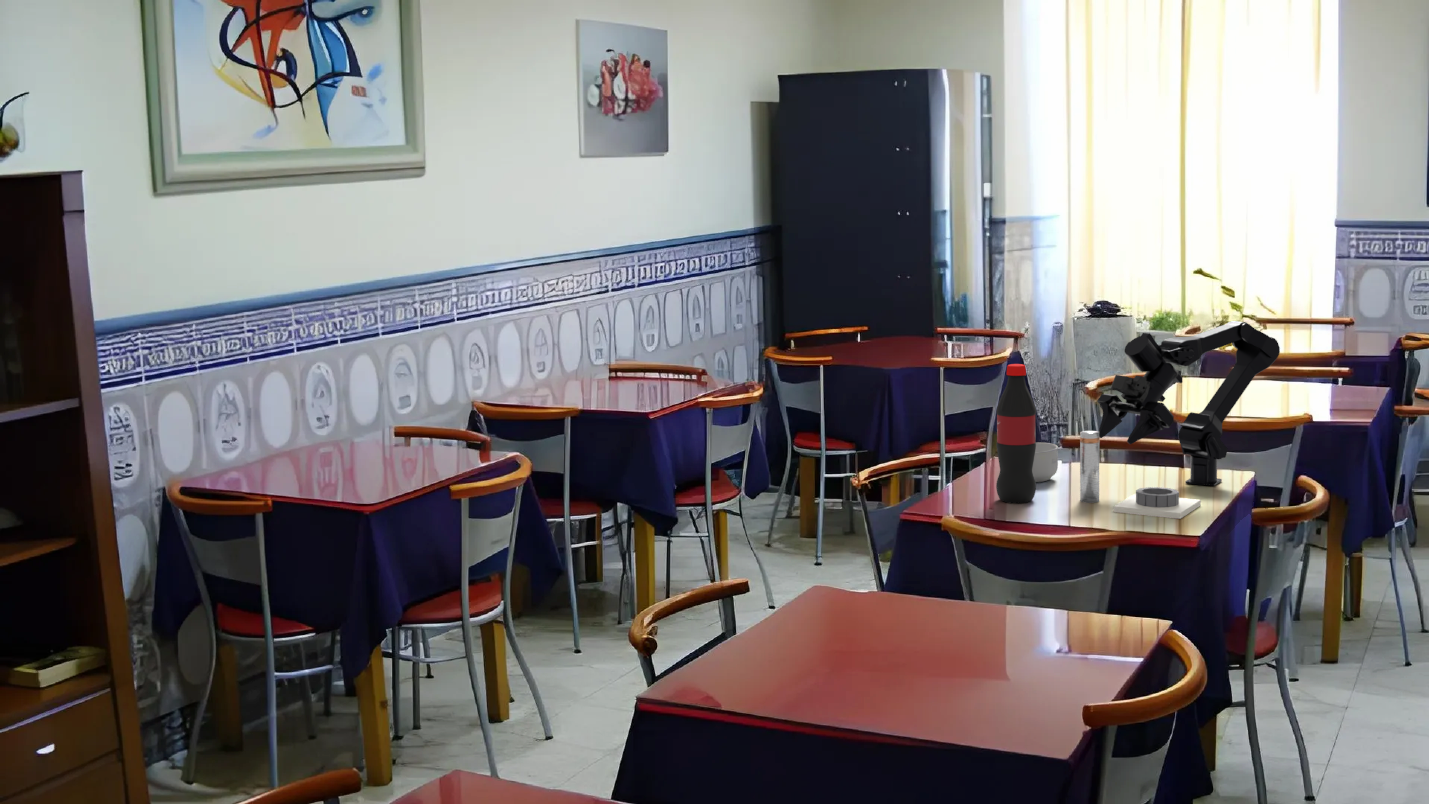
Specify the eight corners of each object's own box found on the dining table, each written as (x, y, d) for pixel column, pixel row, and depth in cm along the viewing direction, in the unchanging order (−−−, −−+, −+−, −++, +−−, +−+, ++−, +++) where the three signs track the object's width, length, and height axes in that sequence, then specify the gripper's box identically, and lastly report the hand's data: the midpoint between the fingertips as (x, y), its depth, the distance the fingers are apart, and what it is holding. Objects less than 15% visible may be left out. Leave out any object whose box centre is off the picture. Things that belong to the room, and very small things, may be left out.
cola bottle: (1033, 496, 321) (1034, 361, 316) (1038, 504, 313) (1038, 366, 308) (994, 496, 322) (994, 362, 317) (998, 505, 313) (998, 367, 309)
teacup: (1062, 484, 333) (1062, 449, 332) (1014, 485, 333) (1014, 450, 332) (1049, 472, 347) (1049, 439, 346) (1004, 473, 347) (1004, 440, 346)
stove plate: (1135, 498, 315) (1135, 482, 315) (1200, 505, 307) (1200, 488, 307) (1113, 511, 304) (1113, 494, 303) (1180, 518, 296) (1180, 501, 296)
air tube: (1083, 497, 318) (1083, 430, 316) (1102, 499, 315) (1102, 431, 313) (1077, 501, 314) (1077, 433, 312) (1095, 503, 312) (1095, 434, 310)
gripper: (1104, 357, 324) (1064, 411, 321) (1164, 365, 308) (1123, 422, 304) (1130, 389, 329) (1092, 442, 325) (1191, 399, 312) (1151, 455, 309)
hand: (1113, 439), depth 316 cm, fingers open, 9 cm apart
